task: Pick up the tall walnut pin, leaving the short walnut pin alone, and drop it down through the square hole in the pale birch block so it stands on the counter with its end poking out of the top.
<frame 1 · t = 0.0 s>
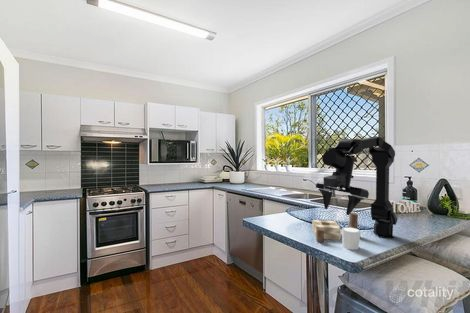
hand: (336, 211, 91), 15 cm above the countertop, tool pointing down, fingers open, 9 cm apart
tall pin: (352, 235, 109), on the countertop
white cylinder: (350, 247, 96), on the countertop
hole block: (325, 234, 109), on the countertop
short pin: (319, 241, 102), on the countertop
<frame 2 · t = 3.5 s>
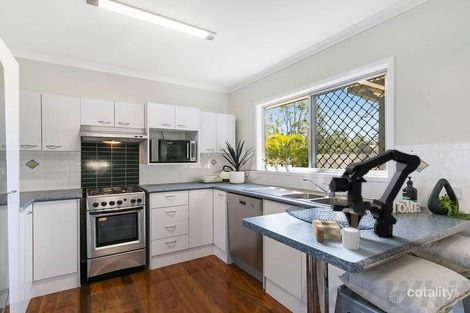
hand: (353, 226, 108), 4 cm above the countertop, tool pointing down, fingers closed on tall pin, 3 cm apart
tall pin: (352, 235, 109), on the countertop, touching gripper
everything else where it was.
when the fingers open (6 cm above the countertop, at t = 7.7 s): tall pin drops 2 cm, resting in hole block.
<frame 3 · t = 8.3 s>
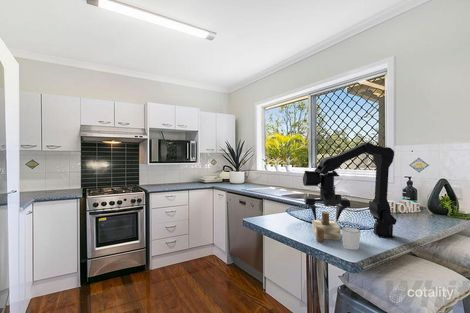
hand: (326, 220, 109), 6 cm above the countertop, tool pointing down, fingers open, 9 cm apart
tall pin: (325, 234, 109), resting in hole block
everything else where it was.
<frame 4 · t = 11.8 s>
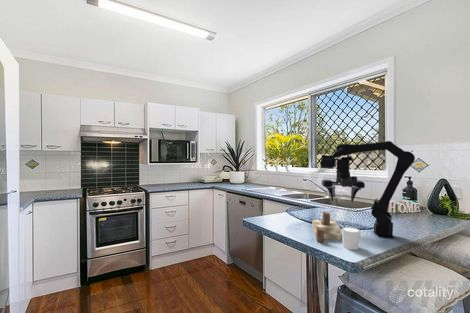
hand: (341, 201, 119), 13 cm above the countertop, tool pointing down, fingers open, 9 cm apart
nothing on the countertop moved.
at the end: tall pin 0.1 cm off-centre on the hole block, point 0.0 cm above the hole block's base; tall pin tilted 0°; short pin moved 0.0 cm from its start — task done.
